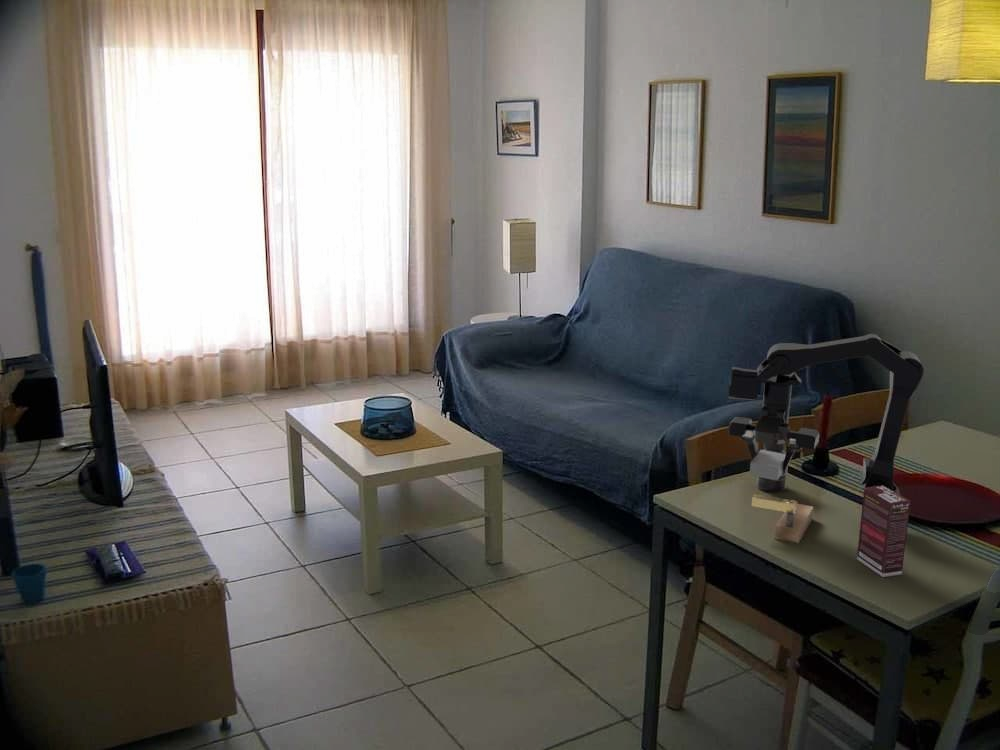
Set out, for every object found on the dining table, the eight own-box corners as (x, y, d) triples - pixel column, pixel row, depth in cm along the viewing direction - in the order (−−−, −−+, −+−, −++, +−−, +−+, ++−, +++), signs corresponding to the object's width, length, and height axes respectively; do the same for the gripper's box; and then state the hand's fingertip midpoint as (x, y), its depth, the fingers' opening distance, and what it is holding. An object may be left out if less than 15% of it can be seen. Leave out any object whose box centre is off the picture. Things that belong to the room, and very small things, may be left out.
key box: (812, 519, 216) (814, 493, 214) (798, 543, 204) (801, 516, 202) (789, 514, 218) (791, 489, 216) (774, 538, 206) (776, 511, 205)
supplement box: (903, 574, 190) (912, 500, 186) (882, 578, 189) (891, 503, 185) (875, 555, 198) (883, 484, 194) (855, 558, 197) (862, 487, 193)
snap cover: (786, 467, 215) (787, 454, 214) (777, 480, 207) (778, 467, 207) (759, 462, 218) (760, 449, 217) (749, 475, 210) (750, 462, 209)
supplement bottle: (786, 494, 229) (790, 447, 226) (757, 492, 231) (760, 445, 227) (784, 483, 236) (788, 437, 233) (755, 481, 237) (759, 435, 234)
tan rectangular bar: (753, 502, 209) (754, 493, 208) (797, 509, 205) (798, 501, 205) (751, 506, 207) (752, 497, 206) (795, 514, 203) (796, 505, 203)
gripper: (724, 404, 207) (718, 472, 211) (813, 419, 199) (805, 489, 203) (737, 391, 216) (731, 456, 221) (823, 405, 208) (815, 472, 212)
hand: (769, 468), depth 214 cm, fingers closed on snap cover, 6 cm apart
